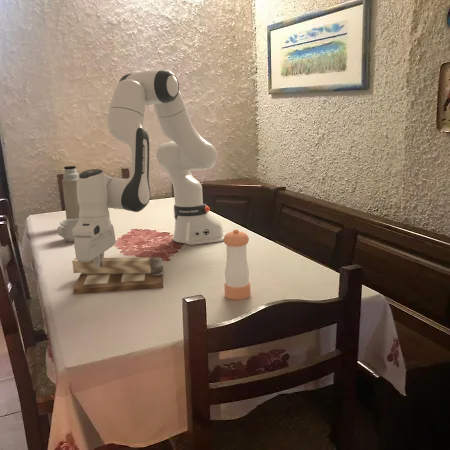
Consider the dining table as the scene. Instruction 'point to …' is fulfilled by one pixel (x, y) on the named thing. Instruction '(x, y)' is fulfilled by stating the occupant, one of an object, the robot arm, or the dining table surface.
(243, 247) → the pepper shaker
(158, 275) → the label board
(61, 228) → the teacup
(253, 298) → the dining table surface
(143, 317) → the dining table surface
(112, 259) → the swing bar
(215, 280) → the dining table surface
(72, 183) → the thermos bottle
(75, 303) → the dining table surface
